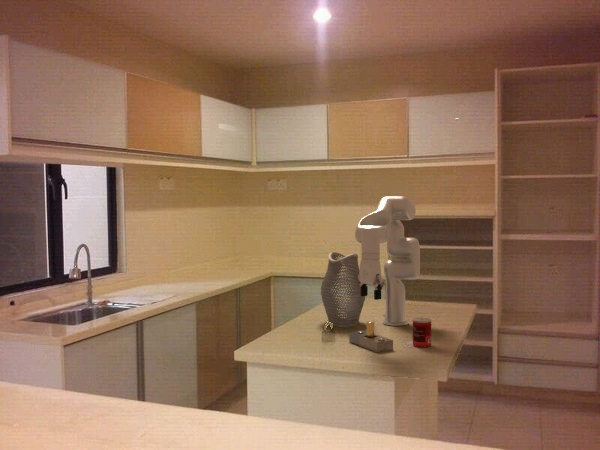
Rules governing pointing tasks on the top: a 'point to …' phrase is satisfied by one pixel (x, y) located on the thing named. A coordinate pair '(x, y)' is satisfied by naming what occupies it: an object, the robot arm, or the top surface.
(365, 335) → the bolted slotted plate
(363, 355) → the top surface
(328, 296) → the vase
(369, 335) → the pin
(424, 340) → the canned food
